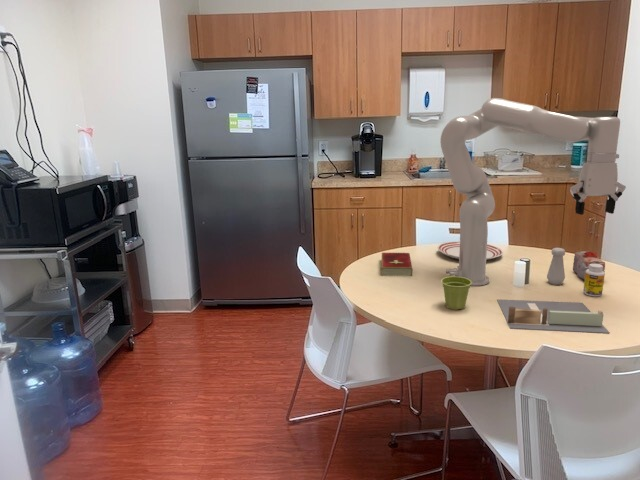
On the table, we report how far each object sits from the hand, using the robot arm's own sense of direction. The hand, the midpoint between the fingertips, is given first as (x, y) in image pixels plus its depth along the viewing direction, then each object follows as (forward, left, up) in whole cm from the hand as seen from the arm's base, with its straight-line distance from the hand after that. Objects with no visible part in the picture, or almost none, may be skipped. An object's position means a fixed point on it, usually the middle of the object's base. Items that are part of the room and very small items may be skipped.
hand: (594, 213), depth 148 cm
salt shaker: (-5, +14, -29) cm, 33 cm away
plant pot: (-42, -12, -29) cm, 52 cm away
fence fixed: (-23, -23, -29) cm, 43 cm away
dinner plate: (-31, +48, -29) cm, 64 cm away
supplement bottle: (+4, +4, -29) cm, 29 cm away
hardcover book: (-62, +27, -29) cm, 74 cm away
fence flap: (-10, -23, -28) cm, 37 cm away
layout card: (-15, -16, -29) cm, 36 cm away
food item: (+8, +22, -29) cm, 37 cm away
